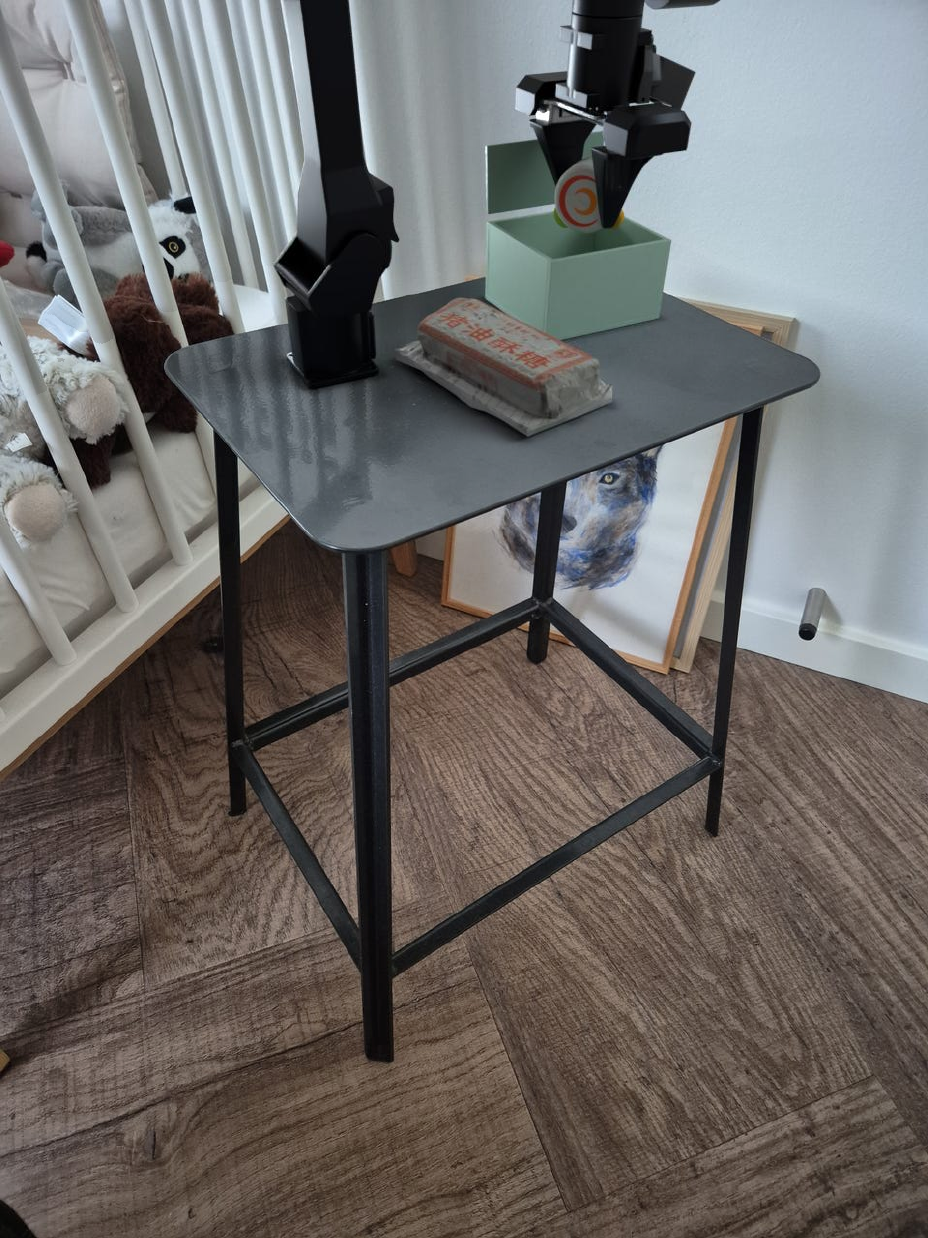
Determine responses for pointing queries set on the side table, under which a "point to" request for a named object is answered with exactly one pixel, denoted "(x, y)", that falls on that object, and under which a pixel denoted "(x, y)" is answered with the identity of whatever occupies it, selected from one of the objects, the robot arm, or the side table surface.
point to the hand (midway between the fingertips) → (587, 216)
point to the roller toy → (579, 199)
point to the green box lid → (523, 174)
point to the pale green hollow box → (575, 274)
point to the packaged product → (506, 366)
